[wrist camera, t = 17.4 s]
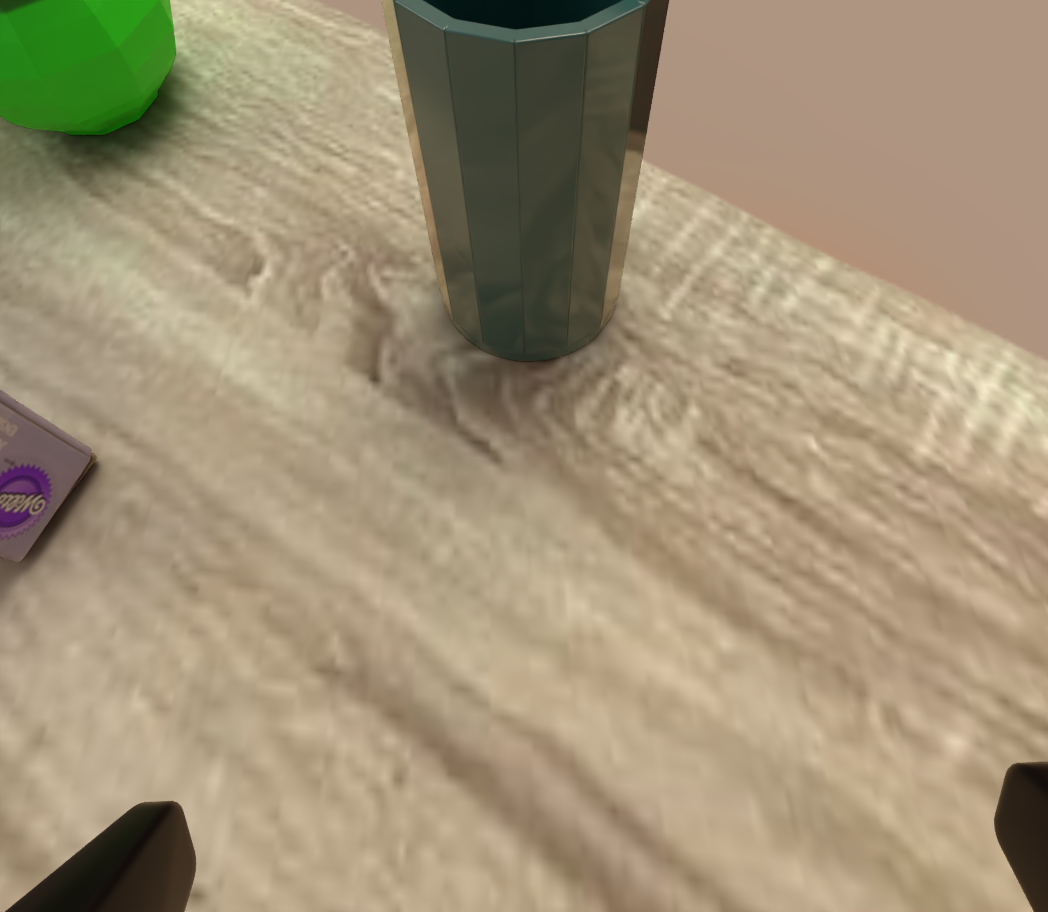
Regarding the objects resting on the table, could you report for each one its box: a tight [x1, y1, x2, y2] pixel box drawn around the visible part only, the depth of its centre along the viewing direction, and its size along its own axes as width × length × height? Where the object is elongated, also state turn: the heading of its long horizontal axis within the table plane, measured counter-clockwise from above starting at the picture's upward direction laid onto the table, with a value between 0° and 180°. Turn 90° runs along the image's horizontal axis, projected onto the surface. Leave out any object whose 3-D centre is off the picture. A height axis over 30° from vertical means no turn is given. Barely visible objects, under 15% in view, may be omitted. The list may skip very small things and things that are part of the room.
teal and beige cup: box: [381, 0, 669, 361], centre depth 22 cm, size 7×7×12 cm
